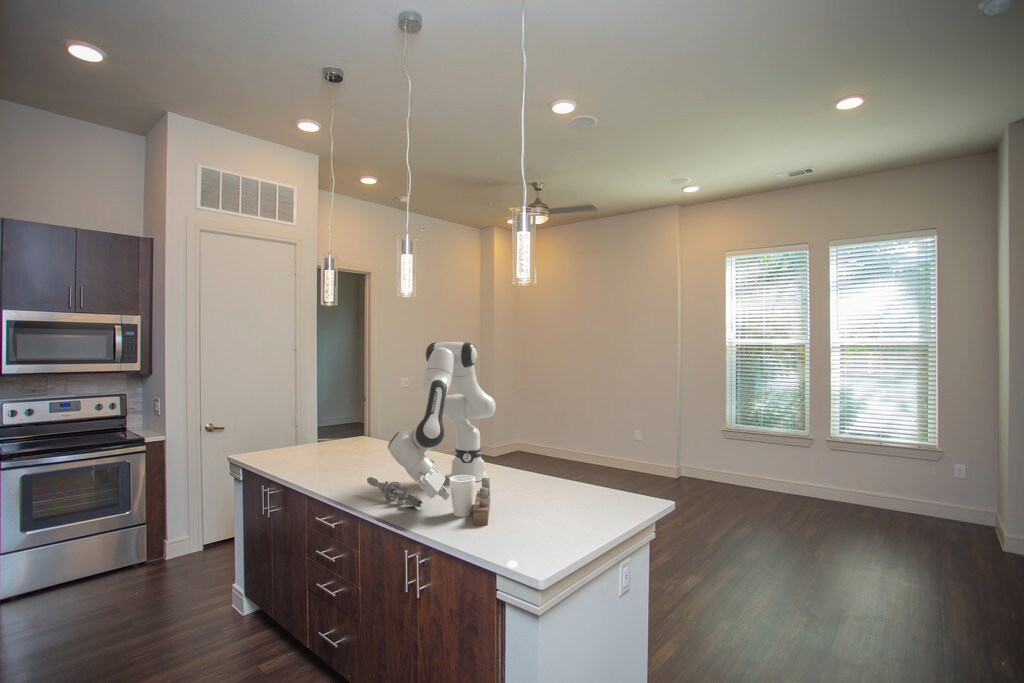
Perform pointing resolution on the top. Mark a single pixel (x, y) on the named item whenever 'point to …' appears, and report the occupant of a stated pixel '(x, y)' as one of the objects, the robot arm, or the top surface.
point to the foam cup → (462, 494)
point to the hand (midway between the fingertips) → (447, 497)
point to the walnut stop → (482, 504)
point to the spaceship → (396, 492)
